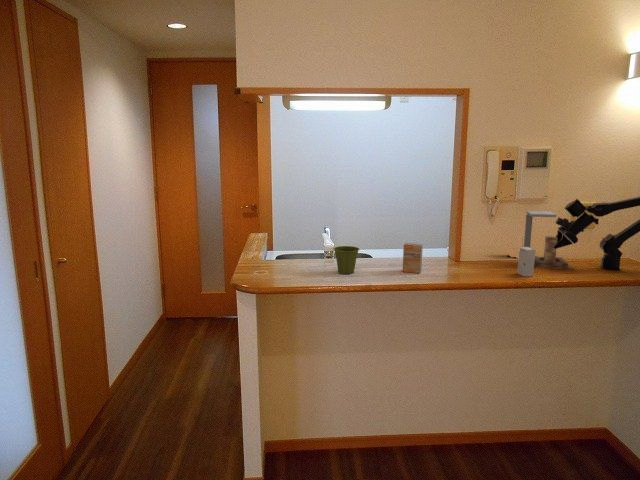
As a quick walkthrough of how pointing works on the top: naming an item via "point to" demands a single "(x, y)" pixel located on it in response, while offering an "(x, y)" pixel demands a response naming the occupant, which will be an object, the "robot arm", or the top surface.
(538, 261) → the tan flat wooden frame
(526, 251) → the skincare box
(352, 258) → the plant pot
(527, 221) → the grey l-shaped rod
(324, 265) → the top surface
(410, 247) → the supplement box
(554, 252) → the peg
